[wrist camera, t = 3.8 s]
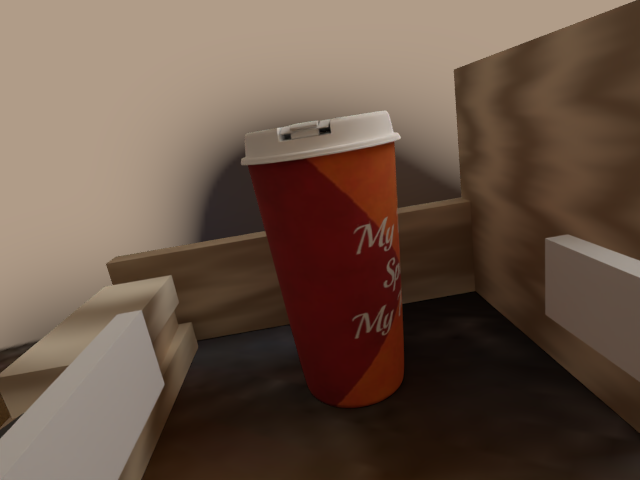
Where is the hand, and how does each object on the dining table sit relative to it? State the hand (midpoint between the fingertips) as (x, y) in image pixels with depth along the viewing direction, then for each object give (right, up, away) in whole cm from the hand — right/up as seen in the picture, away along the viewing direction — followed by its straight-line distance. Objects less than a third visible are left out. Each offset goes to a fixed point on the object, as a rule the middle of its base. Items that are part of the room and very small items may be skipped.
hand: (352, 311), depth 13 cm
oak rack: (-1, -6, +10) cm, 12 cm away
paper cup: (+1, -6, +10) cm, 11 cm away
